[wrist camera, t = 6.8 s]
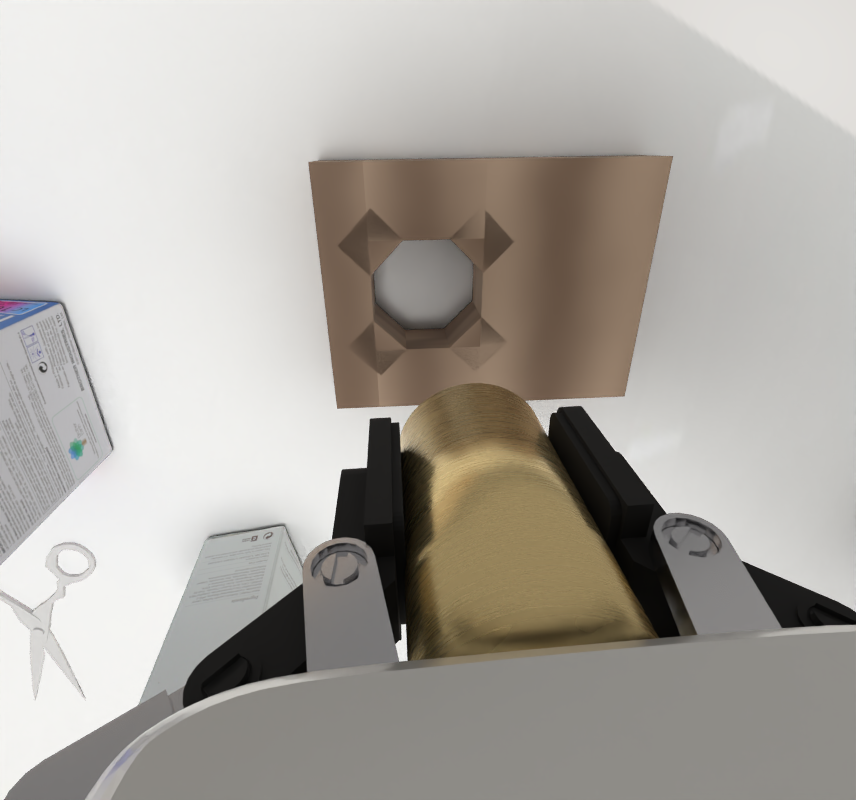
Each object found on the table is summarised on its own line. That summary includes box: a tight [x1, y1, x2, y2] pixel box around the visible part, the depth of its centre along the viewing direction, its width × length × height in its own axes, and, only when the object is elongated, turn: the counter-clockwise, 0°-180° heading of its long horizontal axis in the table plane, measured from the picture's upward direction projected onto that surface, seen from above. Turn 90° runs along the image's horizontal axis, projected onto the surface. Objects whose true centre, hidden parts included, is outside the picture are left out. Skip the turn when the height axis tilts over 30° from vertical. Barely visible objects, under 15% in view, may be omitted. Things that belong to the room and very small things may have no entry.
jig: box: [308, 155, 673, 409], centre depth 25 cm, size 16×12×3 cm
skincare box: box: [139, 526, 303, 705], centre depth 29 cm, size 8×6×15 cm
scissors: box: [0, 543, 96, 699], centre depth 36 cm, size 11×1×20 cm
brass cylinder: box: [400, 383, 659, 661], centre depth 10 cm, size 4×4×7 cm
